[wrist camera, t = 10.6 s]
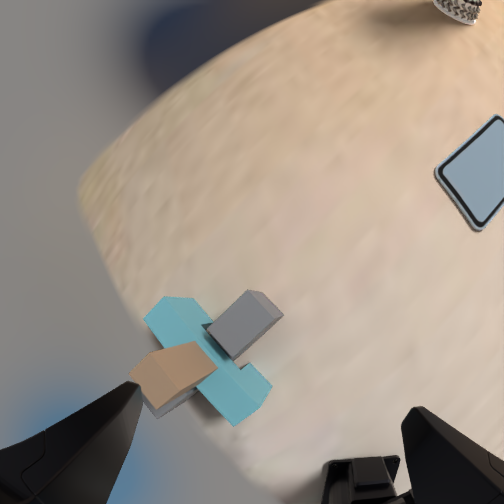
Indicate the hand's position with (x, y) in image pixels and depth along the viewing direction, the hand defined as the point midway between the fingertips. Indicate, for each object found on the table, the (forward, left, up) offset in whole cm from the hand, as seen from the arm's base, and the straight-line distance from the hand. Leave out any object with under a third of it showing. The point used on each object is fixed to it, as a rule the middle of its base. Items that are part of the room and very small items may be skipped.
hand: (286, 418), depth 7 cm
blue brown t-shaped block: (-1, +7, -14) cm, 16 cm away
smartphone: (+16, -20, -15) cm, 30 cm away
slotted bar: (-1, +7, -14) cm, 16 cm away
